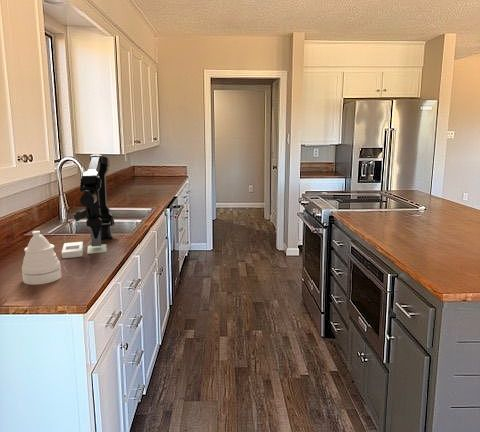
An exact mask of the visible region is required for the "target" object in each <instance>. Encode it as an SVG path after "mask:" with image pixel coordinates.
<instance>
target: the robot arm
mask: <svg viewBox="0 0 480 432" xmlns="http://www.w3.org/2000/svg"><path fill="white" fill-rule="evenodd" d="M110 164H111V163H110V158H109V157H107V156H103V155H102V154H91V155H90V157H89V164H88V167H87V170H86V171H84V172H83V174H82V176H81V177H80V187H79V192H83V194H82V195H81V196H80V198H79V202H80V205H81V206H83V207H84V208H83V209H81V210H78V211H75V212H74V213H72V217H73V219H74V220H75V222H76V223H77V222H79V221H81V220H83V219H84V218H86V221H85V223H86V227H89V228H91V229H92V232H93V235H94V238H95V239H97V238H98V234H99V231H100V235H101V240H105V239H106V240H107V239H113V234H112V230H111V229H112V227H113V226H115V219H114V216H113V214H112V213H111V211H112V210H111V209H110V207H109V205H108V199H107V197H108V195H107V178H106V177H107V174H108V172H109V168H110V167H111V166H110Z"/></svg>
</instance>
